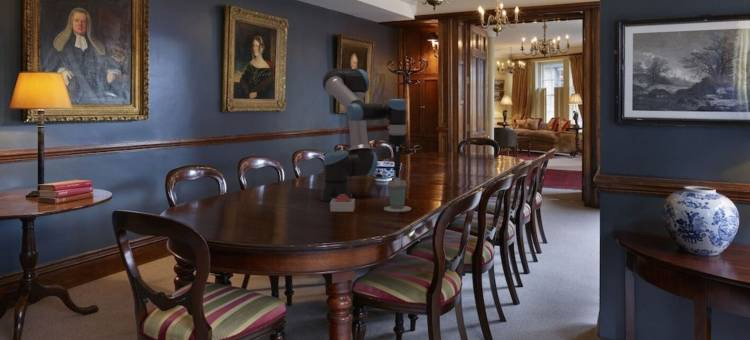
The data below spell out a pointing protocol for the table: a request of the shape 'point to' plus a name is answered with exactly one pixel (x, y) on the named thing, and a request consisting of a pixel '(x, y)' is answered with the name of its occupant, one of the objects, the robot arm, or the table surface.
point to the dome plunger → (343, 198)
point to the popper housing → (342, 206)
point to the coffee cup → (397, 194)
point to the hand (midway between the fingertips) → (397, 182)
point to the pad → (397, 209)
